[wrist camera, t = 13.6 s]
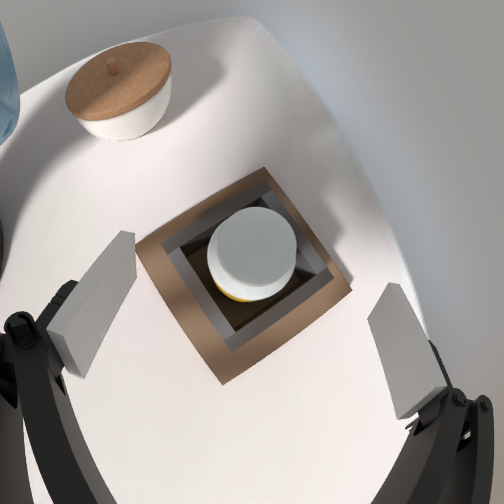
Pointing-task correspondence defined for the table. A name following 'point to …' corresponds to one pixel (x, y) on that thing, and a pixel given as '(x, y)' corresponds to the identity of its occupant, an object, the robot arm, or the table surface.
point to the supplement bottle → (252, 254)
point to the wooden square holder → (222, 308)
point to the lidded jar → (122, 91)
